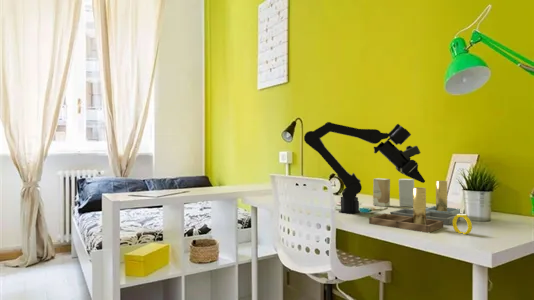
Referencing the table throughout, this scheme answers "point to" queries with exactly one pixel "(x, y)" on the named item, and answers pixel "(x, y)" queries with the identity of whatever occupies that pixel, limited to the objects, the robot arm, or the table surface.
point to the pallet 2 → (429, 215)
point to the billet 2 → (441, 196)
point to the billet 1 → (419, 205)
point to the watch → (466, 221)
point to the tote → (449, 211)
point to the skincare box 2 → (406, 192)
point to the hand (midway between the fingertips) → (421, 181)
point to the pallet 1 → (405, 222)
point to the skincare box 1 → (381, 192)
